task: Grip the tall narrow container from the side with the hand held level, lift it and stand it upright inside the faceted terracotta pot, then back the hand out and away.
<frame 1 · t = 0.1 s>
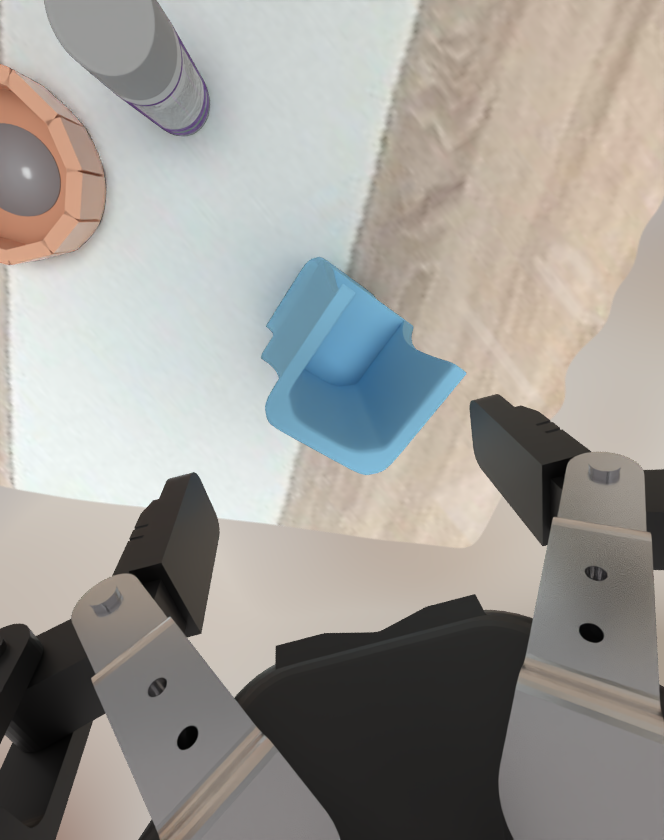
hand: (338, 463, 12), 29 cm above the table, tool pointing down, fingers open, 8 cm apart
container: (178, 99, 32), on the table
vase: (324, 313, 40), on the table
faceted terracotta pot: (21, 172, 33), on the table
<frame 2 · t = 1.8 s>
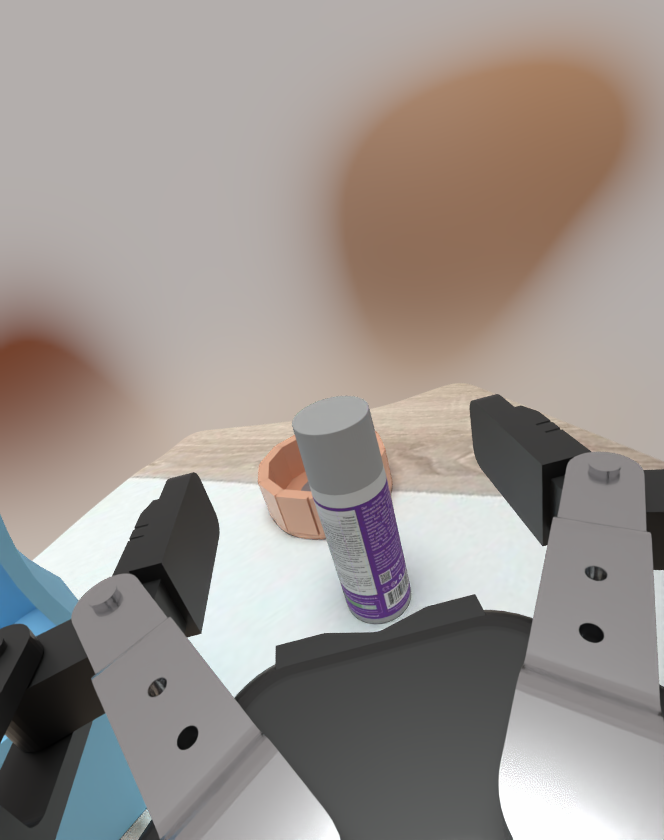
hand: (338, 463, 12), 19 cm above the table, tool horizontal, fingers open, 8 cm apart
container: (379, 596, 31), on the table
vase: (103, 775, 25), on the table
faceted terracotta pot: (331, 494, 42), on the table
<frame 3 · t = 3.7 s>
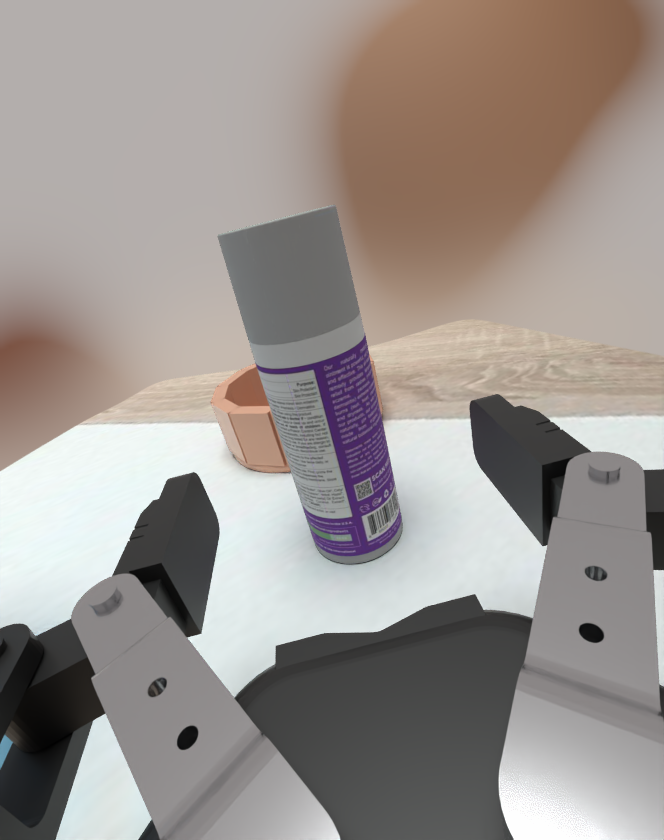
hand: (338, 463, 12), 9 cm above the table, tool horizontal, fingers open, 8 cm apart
container: (358, 532, 22), on the table
faceted terracotta pot: (306, 427, 34), on the table
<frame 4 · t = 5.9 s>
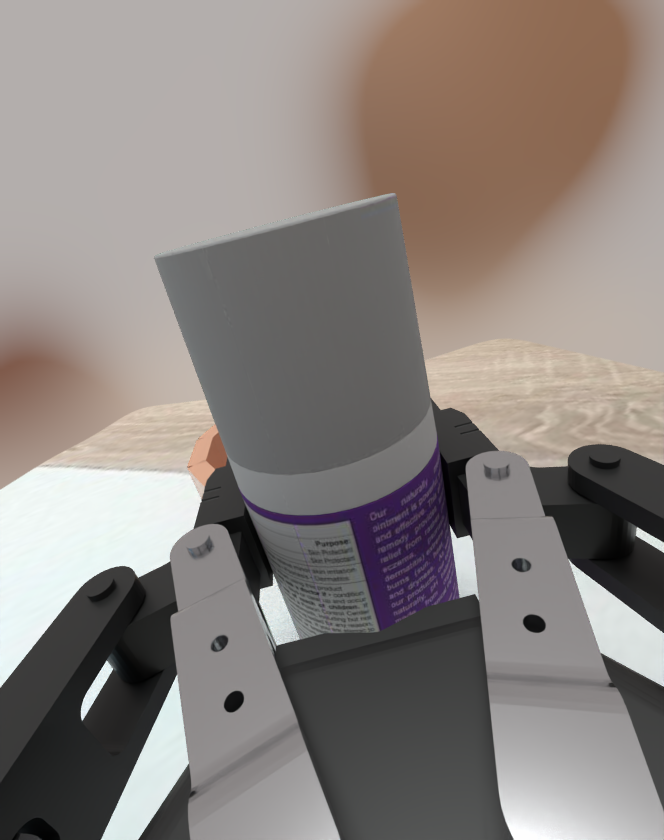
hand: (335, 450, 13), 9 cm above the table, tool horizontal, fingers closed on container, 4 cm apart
container: (402, 702, 15), on the table, touching gripper
faceted terracotta pot: (315, 490, 26), on the table
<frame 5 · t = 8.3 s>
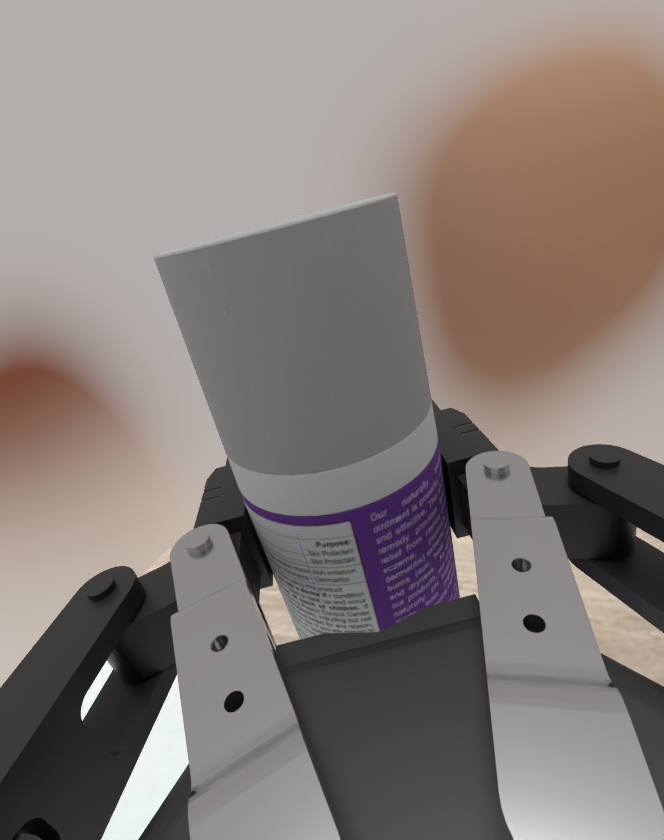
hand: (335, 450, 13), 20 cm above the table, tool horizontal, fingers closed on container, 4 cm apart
container: (402, 703, 15), point 11 cm above the table, touching gripper
when the fingers open (10 cm above the table, at t = 11.1 s): container drops 1 cm, resting on faceted terracotta pot.
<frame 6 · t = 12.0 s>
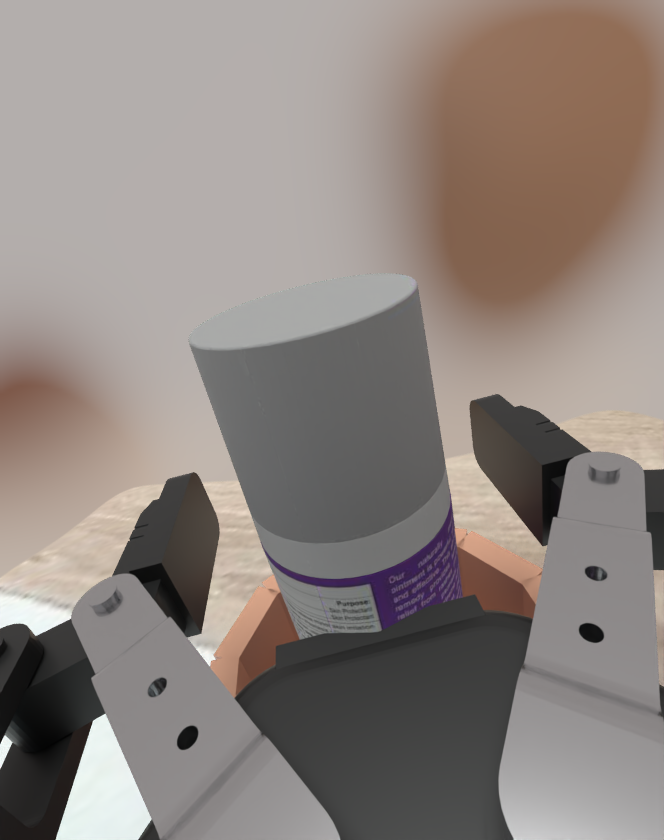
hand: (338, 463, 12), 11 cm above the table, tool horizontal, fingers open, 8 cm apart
container: (410, 730, 15), point 1 cm above the table, touching faceted terracotta pot
faceted terracotta pot: (410, 736, 15), on the table
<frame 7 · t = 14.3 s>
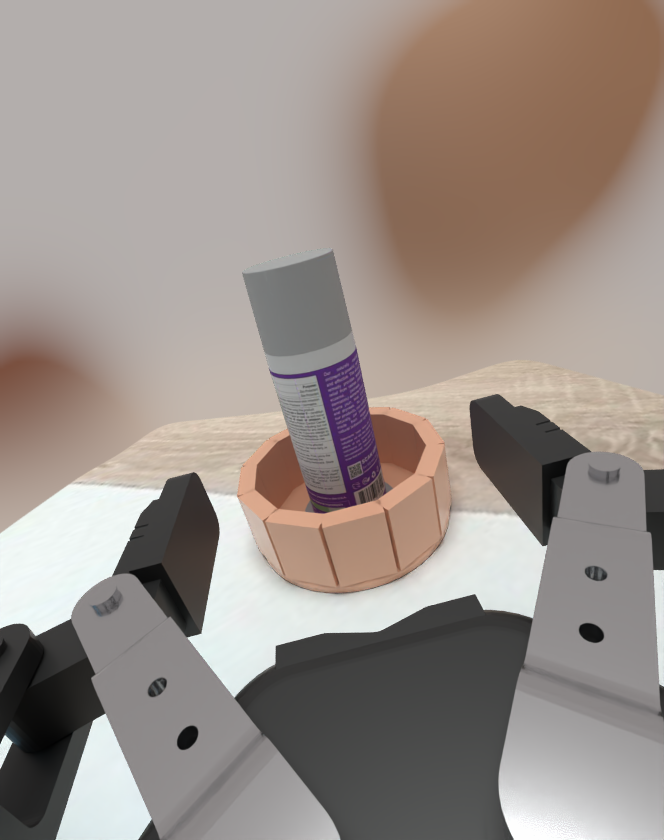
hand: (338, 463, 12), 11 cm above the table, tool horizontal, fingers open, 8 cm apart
container: (351, 508, 27), point 1 cm above the table, touching faceted terracotta pot
faceted terracotta pot: (353, 515, 27), on the table
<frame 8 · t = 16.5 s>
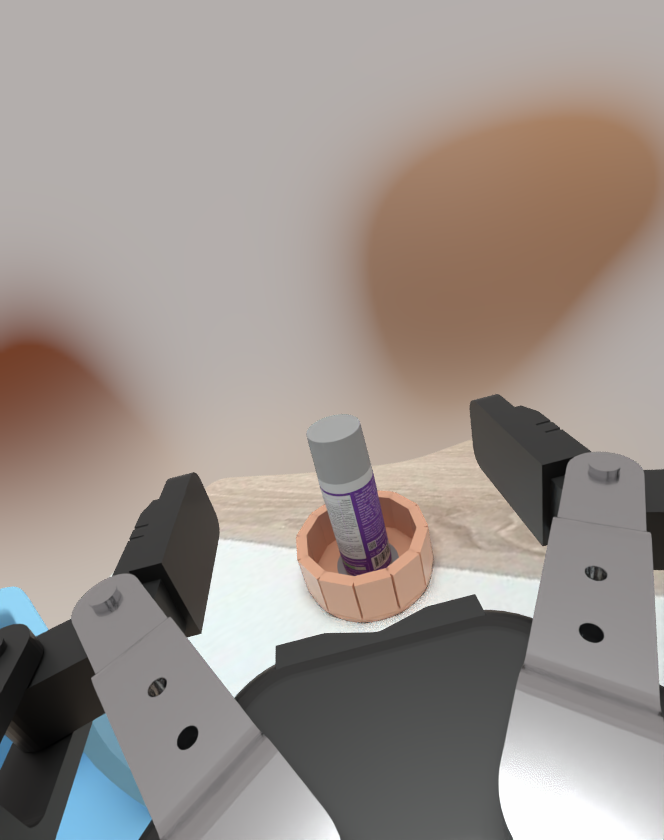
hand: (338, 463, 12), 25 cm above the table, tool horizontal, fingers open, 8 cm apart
container: (368, 563, 41), point 1 cm above the table, touching faceted terracotta pot
faceted terracotta pot: (369, 567, 41), on the table
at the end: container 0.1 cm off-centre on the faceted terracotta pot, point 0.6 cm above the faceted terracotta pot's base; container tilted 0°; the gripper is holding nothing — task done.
